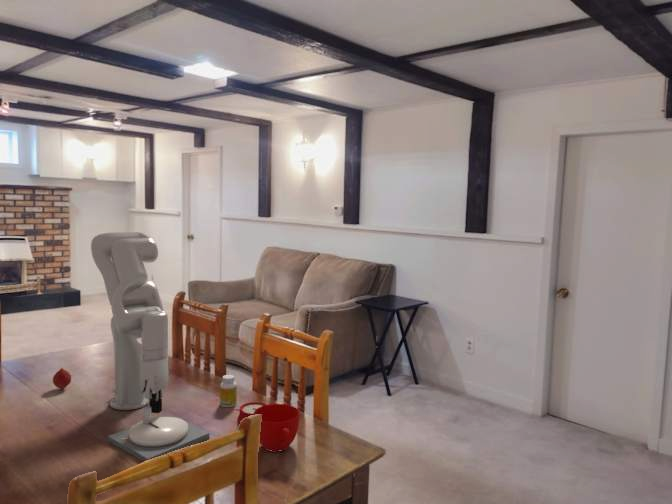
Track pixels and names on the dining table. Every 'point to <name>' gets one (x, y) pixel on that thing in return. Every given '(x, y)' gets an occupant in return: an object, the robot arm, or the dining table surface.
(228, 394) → the supplement bottle
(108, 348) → the dining table surface
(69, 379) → the onion
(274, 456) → the dining table surface
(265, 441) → the ceramic cup
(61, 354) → the dining table surface
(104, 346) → the dining table surface
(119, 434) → the base plate
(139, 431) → the turntable
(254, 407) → the alarm clock
